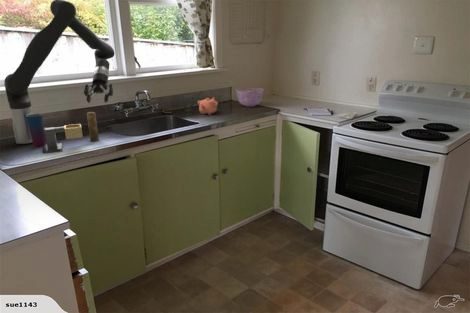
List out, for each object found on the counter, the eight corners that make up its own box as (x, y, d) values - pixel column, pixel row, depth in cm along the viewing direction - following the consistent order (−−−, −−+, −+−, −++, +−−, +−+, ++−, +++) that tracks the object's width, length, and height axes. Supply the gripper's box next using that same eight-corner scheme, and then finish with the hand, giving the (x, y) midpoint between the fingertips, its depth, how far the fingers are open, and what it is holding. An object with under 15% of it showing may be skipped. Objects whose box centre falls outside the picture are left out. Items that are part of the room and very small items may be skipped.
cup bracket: (42, 153, 171) (39, 132, 168) (43, 147, 180) (40, 127, 177) (84, 148, 178) (81, 127, 174) (83, 143, 186) (80, 123, 183)
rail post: (90, 141, 188) (86, 113, 184) (90, 139, 192) (86, 112, 188) (99, 140, 190) (95, 113, 186) (98, 138, 193) (94, 111, 189)
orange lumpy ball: (219, 115, 243) (219, 99, 240) (201, 116, 240) (200, 100, 237) (214, 111, 256) (214, 96, 253) (197, 112, 254) (196, 96, 250)
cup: (43, 142, 187) (38, 113, 182) (50, 145, 183) (44, 114, 178) (29, 146, 182) (23, 115, 177) (35, 148, 178) (29, 117, 173)
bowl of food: (268, 104, 275) (269, 88, 272) (255, 109, 259) (255, 92, 256) (245, 102, 286) (245, 86, 282) (230, 106, 270) (230, 90, 266)
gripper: (85, 72, 200) (80, 97, 192) (112, 72, 200) (109, 97, 193) (89, 81, 206) (85, 106, 199) (116, 81, 207) (112, 105, 200)
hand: (97, 101), depth 196 cm, fingers open, 8 cm apart
